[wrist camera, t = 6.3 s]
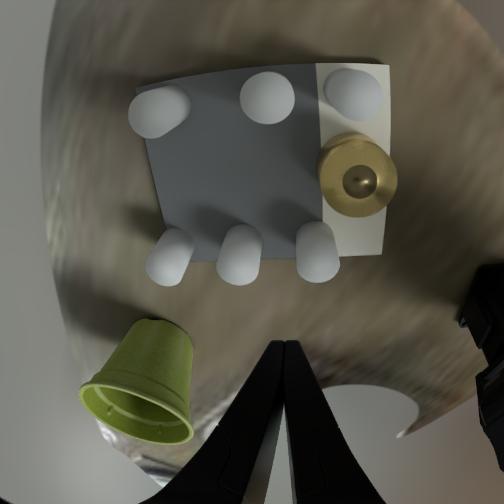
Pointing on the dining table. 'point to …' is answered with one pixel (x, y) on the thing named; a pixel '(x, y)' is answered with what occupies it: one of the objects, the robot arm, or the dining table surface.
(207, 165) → the board
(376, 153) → the brass knob
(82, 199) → the dining table surface
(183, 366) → the plant pot
